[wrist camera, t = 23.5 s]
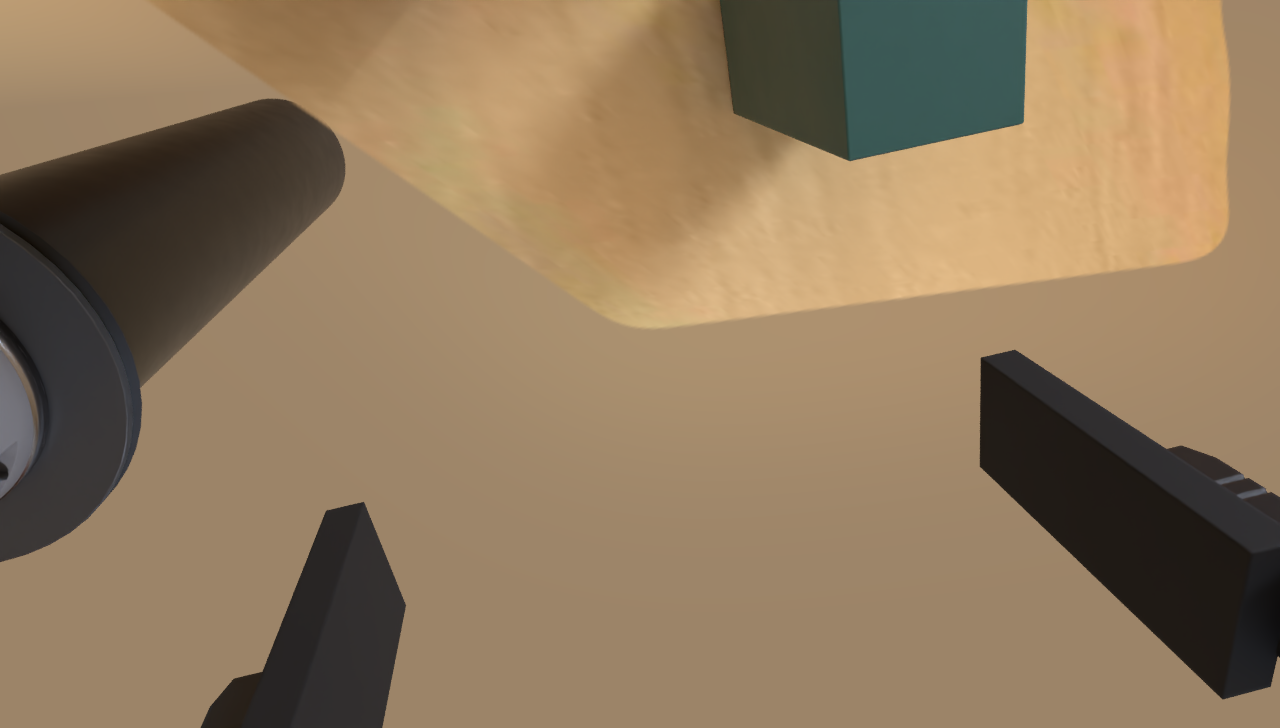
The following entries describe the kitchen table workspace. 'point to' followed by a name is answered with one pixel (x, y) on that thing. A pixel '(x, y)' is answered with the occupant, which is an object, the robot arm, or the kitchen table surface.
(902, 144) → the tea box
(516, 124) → the kitchen table surface
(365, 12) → the kitchen table surface
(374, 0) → the kitchen table surface
